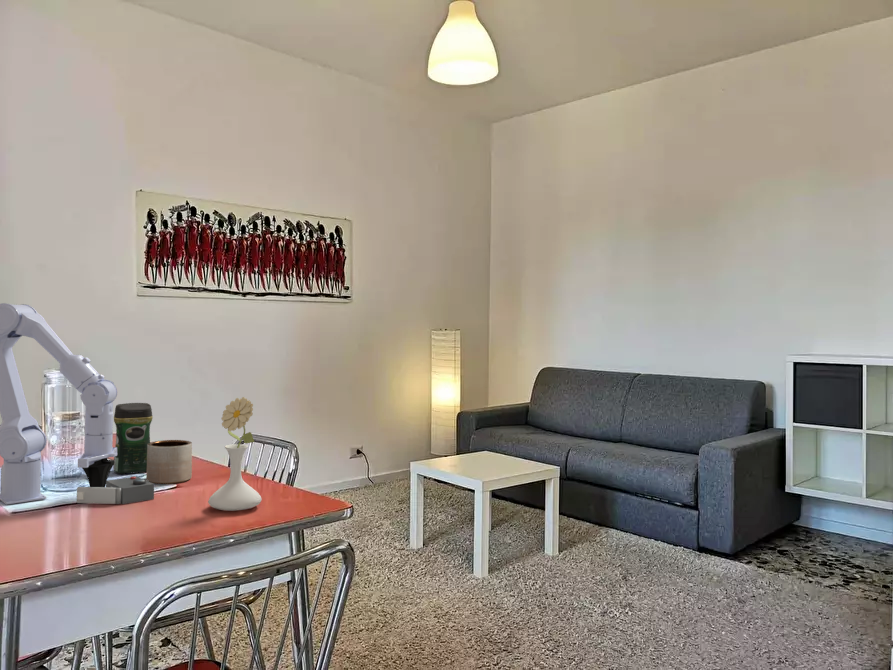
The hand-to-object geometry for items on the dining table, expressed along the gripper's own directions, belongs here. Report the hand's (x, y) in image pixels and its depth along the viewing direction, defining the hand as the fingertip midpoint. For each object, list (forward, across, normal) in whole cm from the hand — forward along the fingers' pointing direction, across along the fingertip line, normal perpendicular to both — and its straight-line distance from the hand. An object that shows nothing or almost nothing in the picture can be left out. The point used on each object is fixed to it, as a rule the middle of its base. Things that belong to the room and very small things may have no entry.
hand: (97, 493), depth 157 cm
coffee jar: (+2, +30, +5) cm, 30 cm away
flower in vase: (+2, -6, -33) cm, 34 cm away
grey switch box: (+1, +2, -6) cm, 7 cm away
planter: (+2, +21, -8) cm, 22 cm away
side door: (+1, -4, -2) cm, 5 cm away
